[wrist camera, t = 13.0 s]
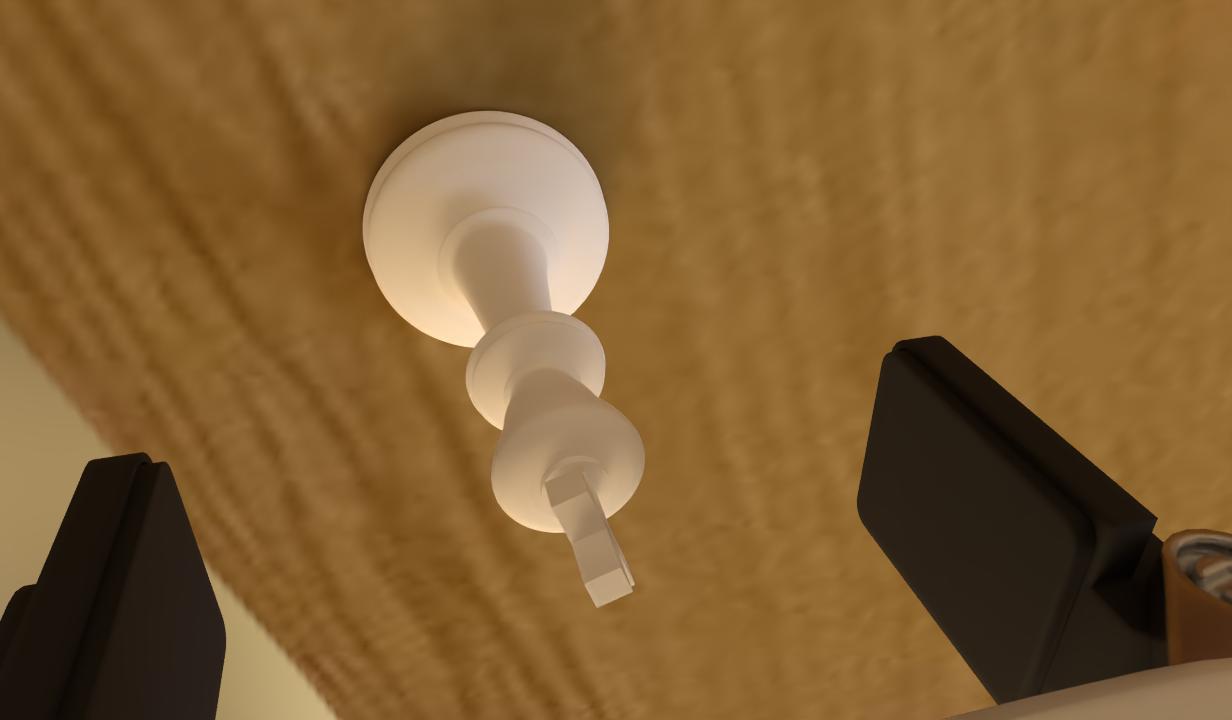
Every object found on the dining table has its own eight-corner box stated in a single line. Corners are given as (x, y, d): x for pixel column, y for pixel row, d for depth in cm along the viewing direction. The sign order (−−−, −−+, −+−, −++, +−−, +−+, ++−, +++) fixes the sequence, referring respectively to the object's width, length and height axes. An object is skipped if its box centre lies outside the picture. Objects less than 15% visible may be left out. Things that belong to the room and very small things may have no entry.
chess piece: (555, 68, 16) (764, 319, 8) (635, 279, 19) (850, 624, 11) (314, 173, 16) (276, 537, 8) (431, 369, 19) (492, 789, 11)
